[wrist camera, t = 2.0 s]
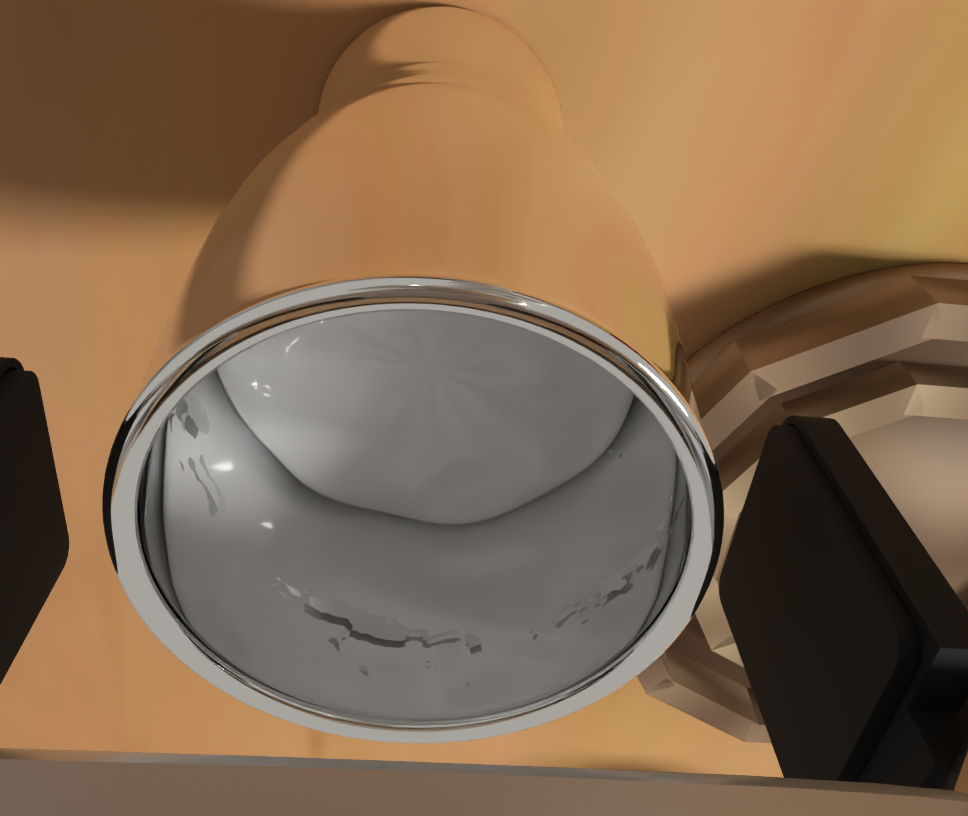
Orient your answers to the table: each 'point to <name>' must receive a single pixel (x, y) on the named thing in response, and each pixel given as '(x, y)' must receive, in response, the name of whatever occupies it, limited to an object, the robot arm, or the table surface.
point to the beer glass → (419, 415)
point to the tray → (863, 416)
